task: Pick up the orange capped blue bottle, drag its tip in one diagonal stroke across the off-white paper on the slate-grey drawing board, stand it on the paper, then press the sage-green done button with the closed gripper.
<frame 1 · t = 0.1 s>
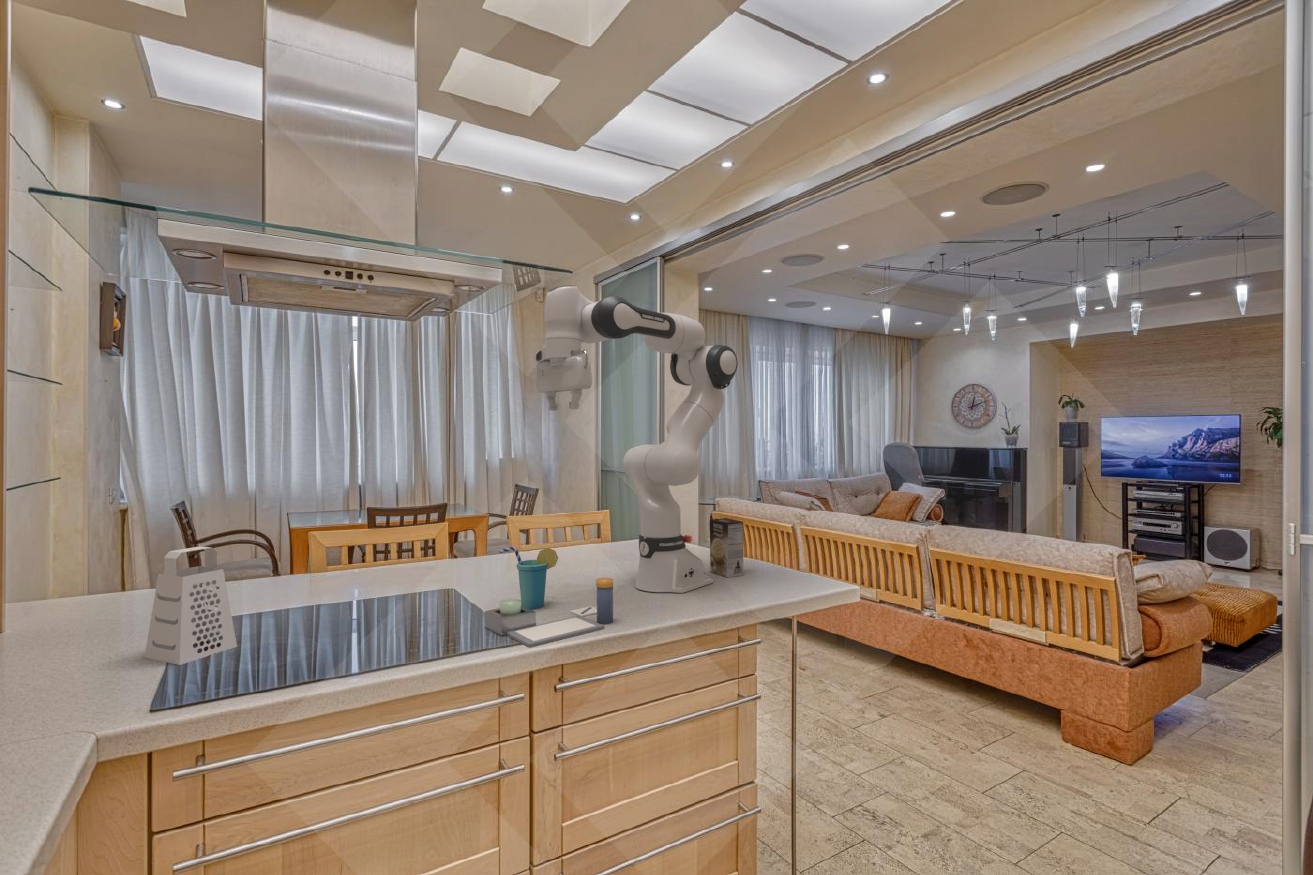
hand: (563, 410, 150), 48 cm above the countertop, fingers open, 8 cm apart
cup: (529, 607, 150), on the countertop
grater: (191, 653, 120), on the countertop
done button: (510, 611, 134), point 4 cm above the countertop, slide at 0.0 cm
orange capped blue bottle: (604, 621, 138), on the countertop
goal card: (586, 612, 146), on the countertop
coffee box: (726, 574, 185), on the countertop
drawing board: (555, 631, 131), on the countertop
button housing: (510, 627, 134), on the countertop
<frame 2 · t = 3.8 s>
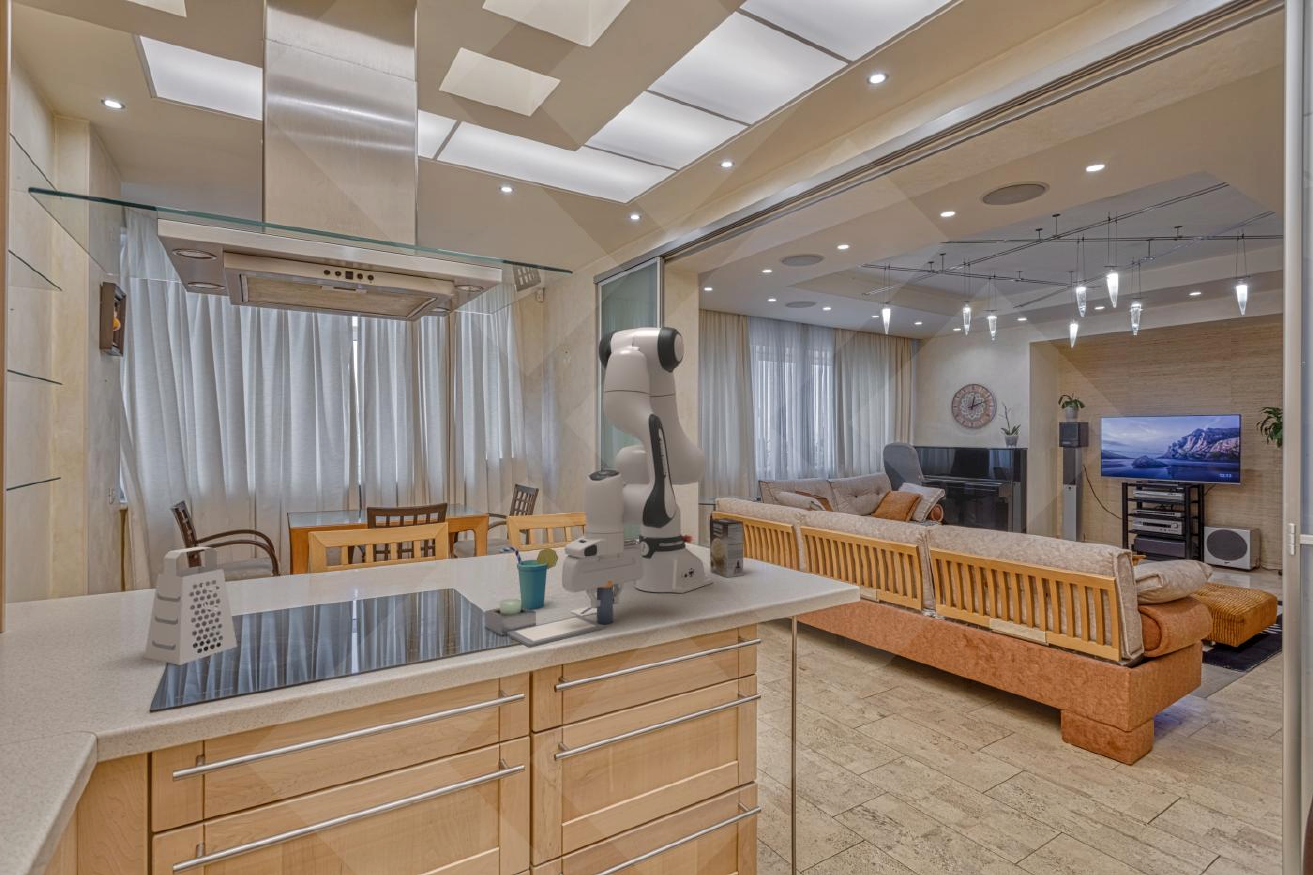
hand: (604, 605, 138), 4 cm above the countertop, fingers closed on orange capped blue bottle, 4 cm apart
orange capped blue bottle: (604, 621, 138), on the countertop, touching gripper
everything else where it was.
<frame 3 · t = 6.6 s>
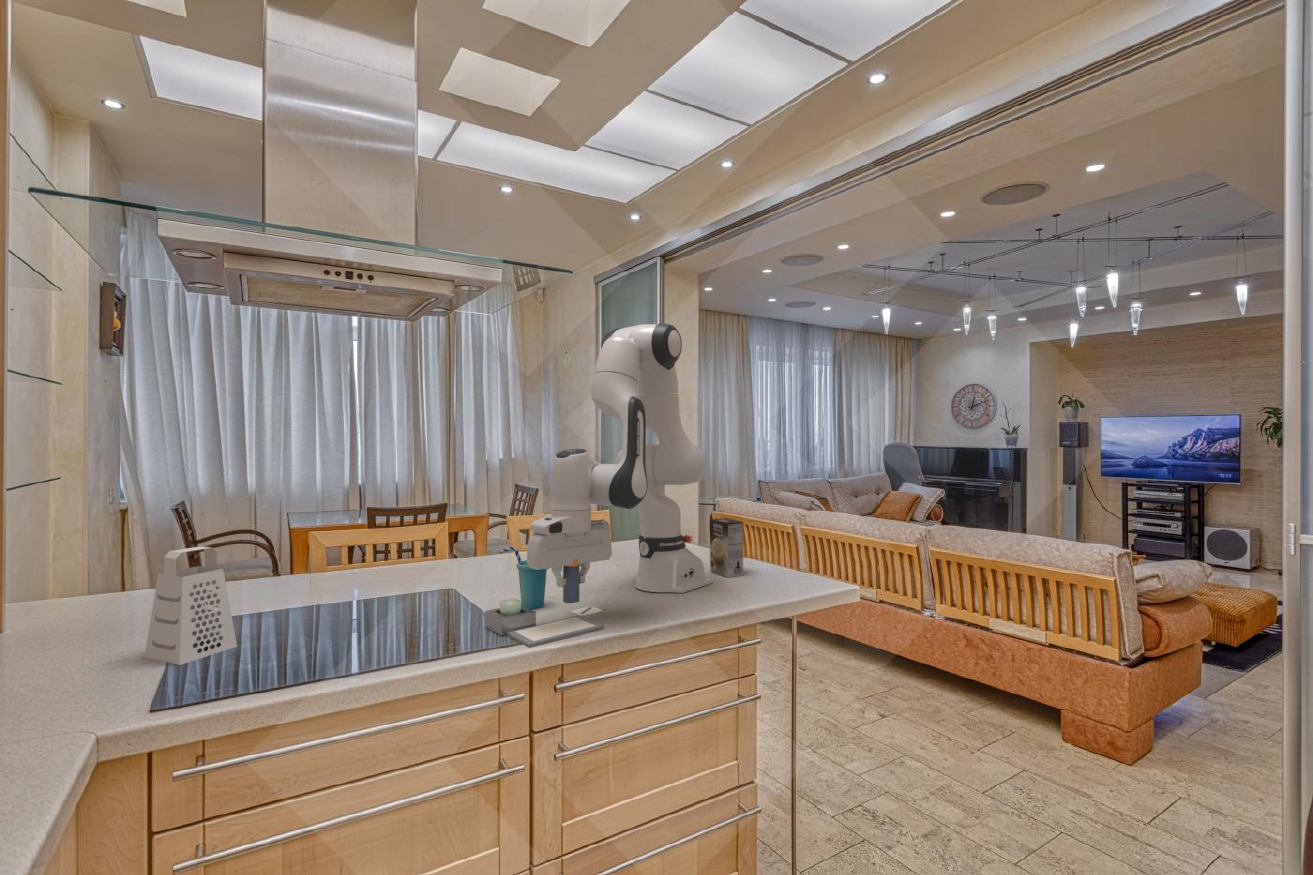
hand: (571, 584, 137), 9 cm above the countertop, fingers closed on orange capped blue bottle, 4 cm apart
orange capped blue bottle: (571, 601, 137), point 5 cm above the countertop, touching gripper
everything else where it was.
when the fingers open (5 cm above the countertop, at t = 9.6 s): orange capped blue bottle stays where it is, resting on drawing board.
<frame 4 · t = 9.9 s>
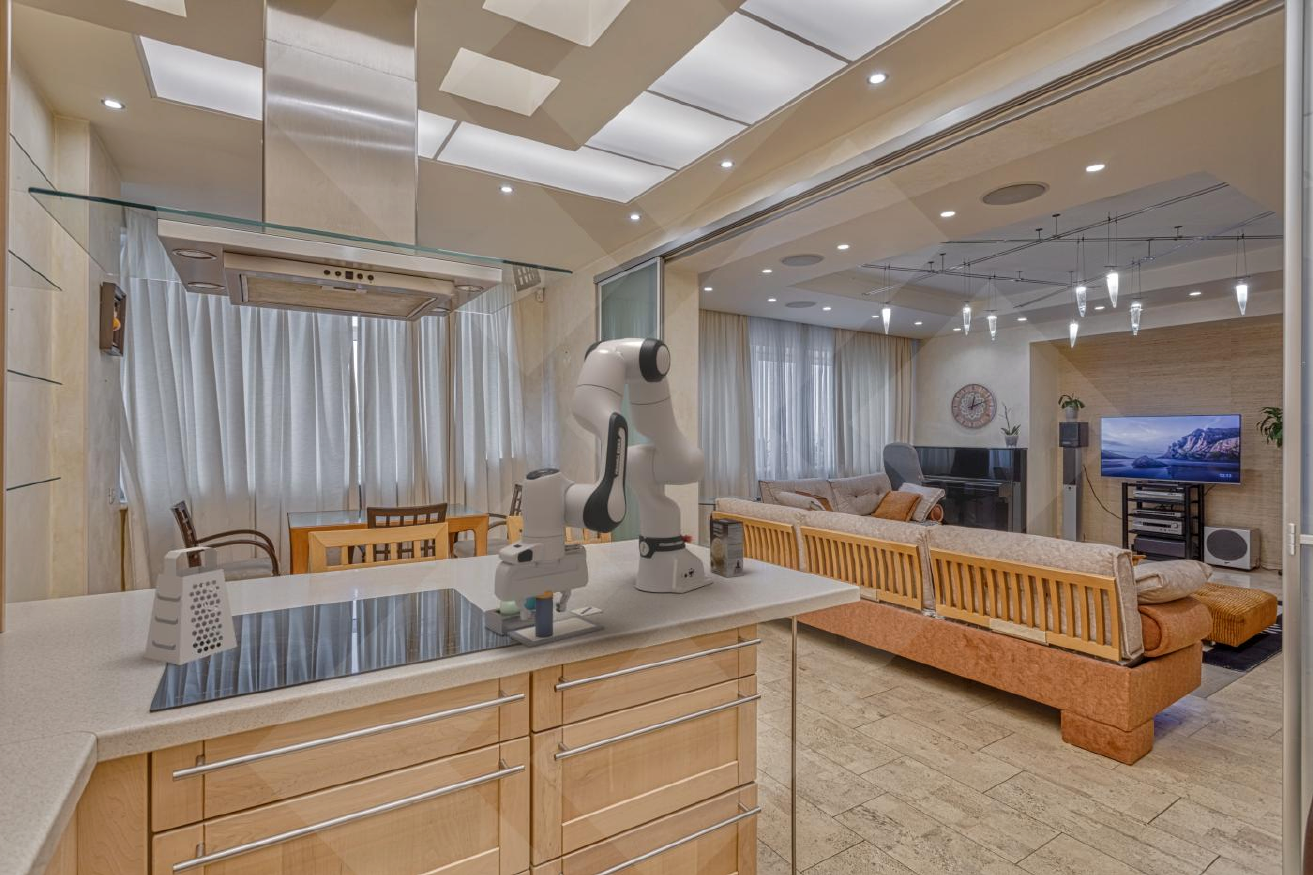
hand: (543, 615, 127), 5 cm above the countertop, fingers open, 7 cm apart
orange capped blue bottle: (544, 634, 127), point 1 cm above the countertop, touching drawing board
everything else where it was.
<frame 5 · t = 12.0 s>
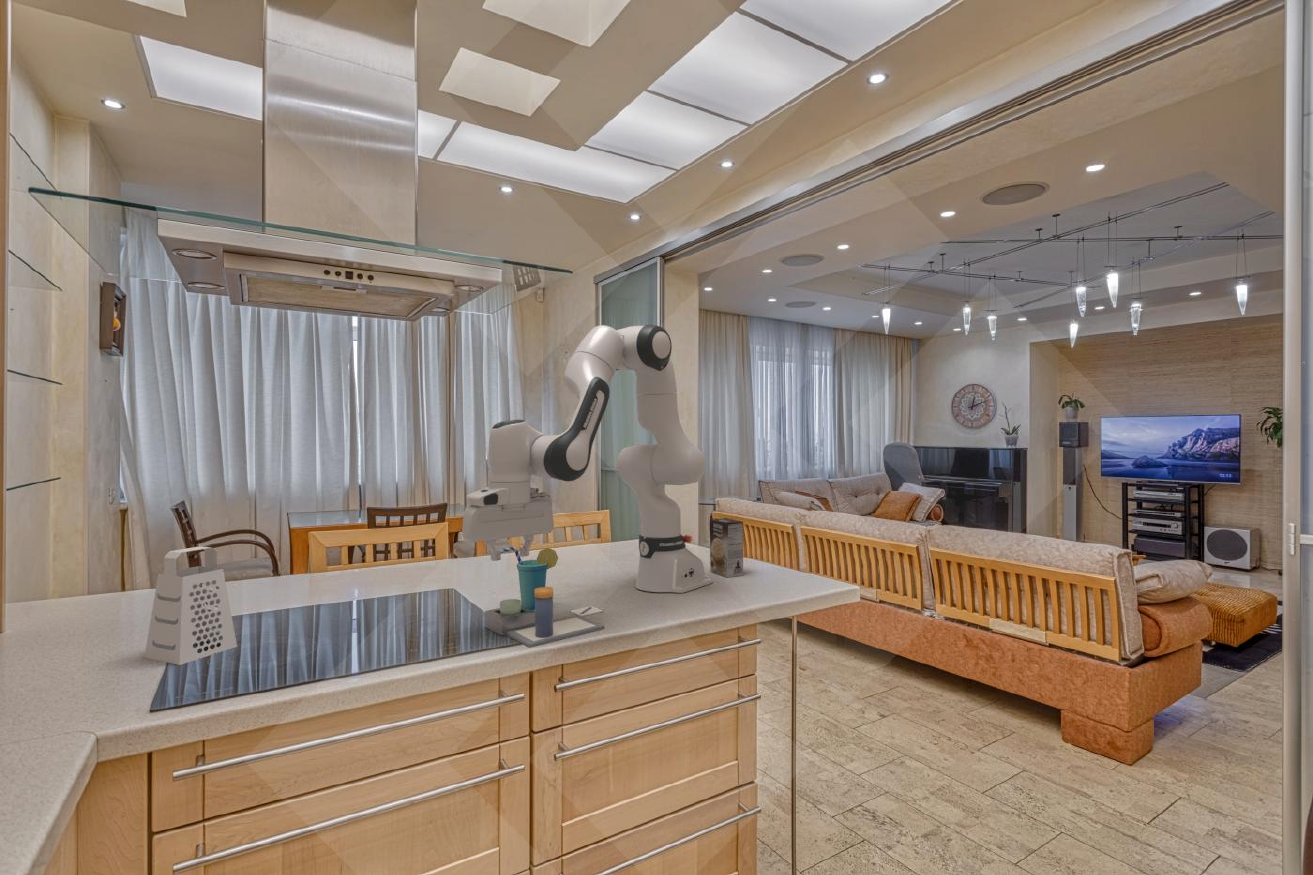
hand: (510, 558, 134), 15 cm above the countertop, fingers open, 5 cm apart
nothing on the countertop moved.
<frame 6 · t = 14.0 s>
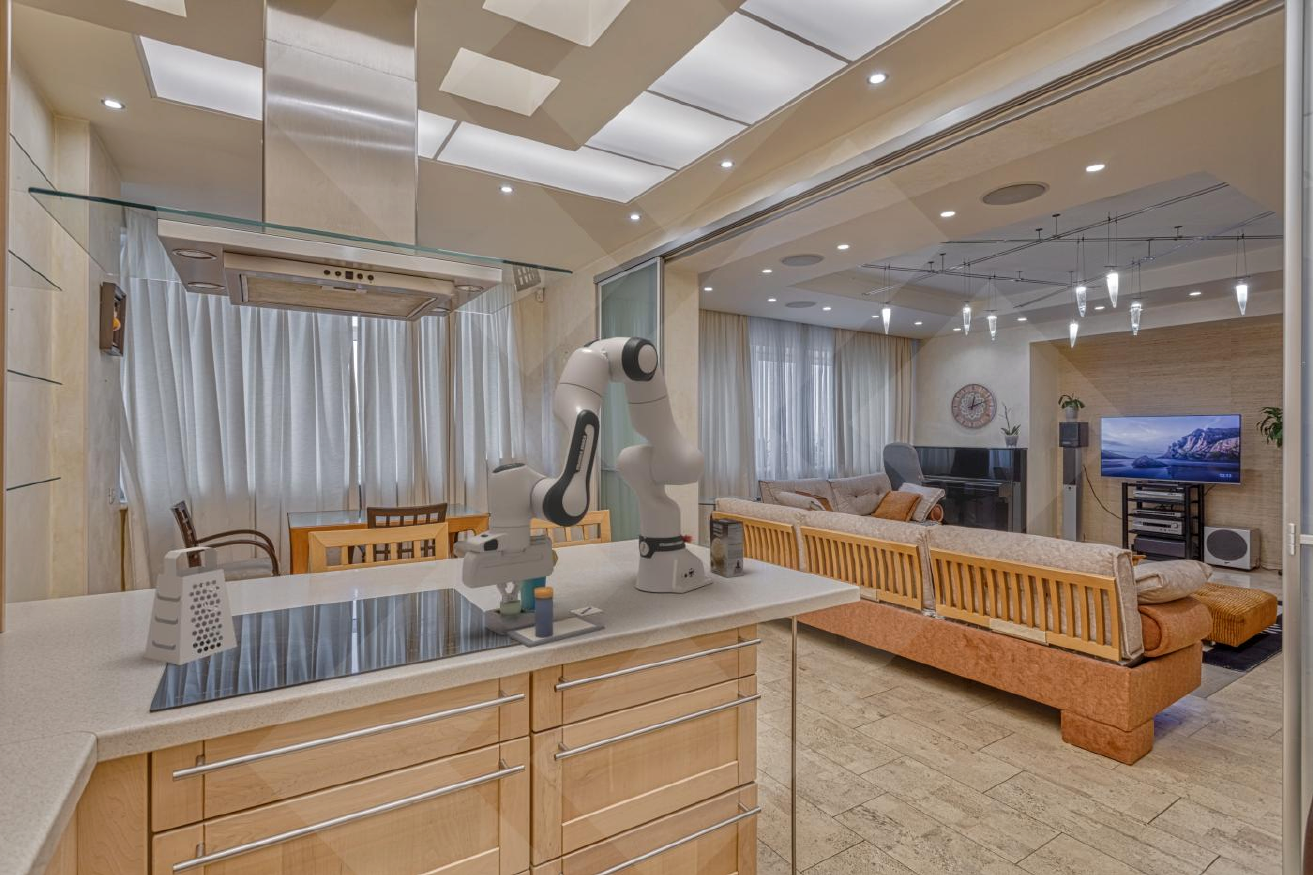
hand: (509, 602, 134), 6 cm above the countertop, fingers closed, pressing on done button
done button: (510, 611, 134), point 4 cm above the countertop, slide at 0.0 cm, touching gripper
everything else where it was.
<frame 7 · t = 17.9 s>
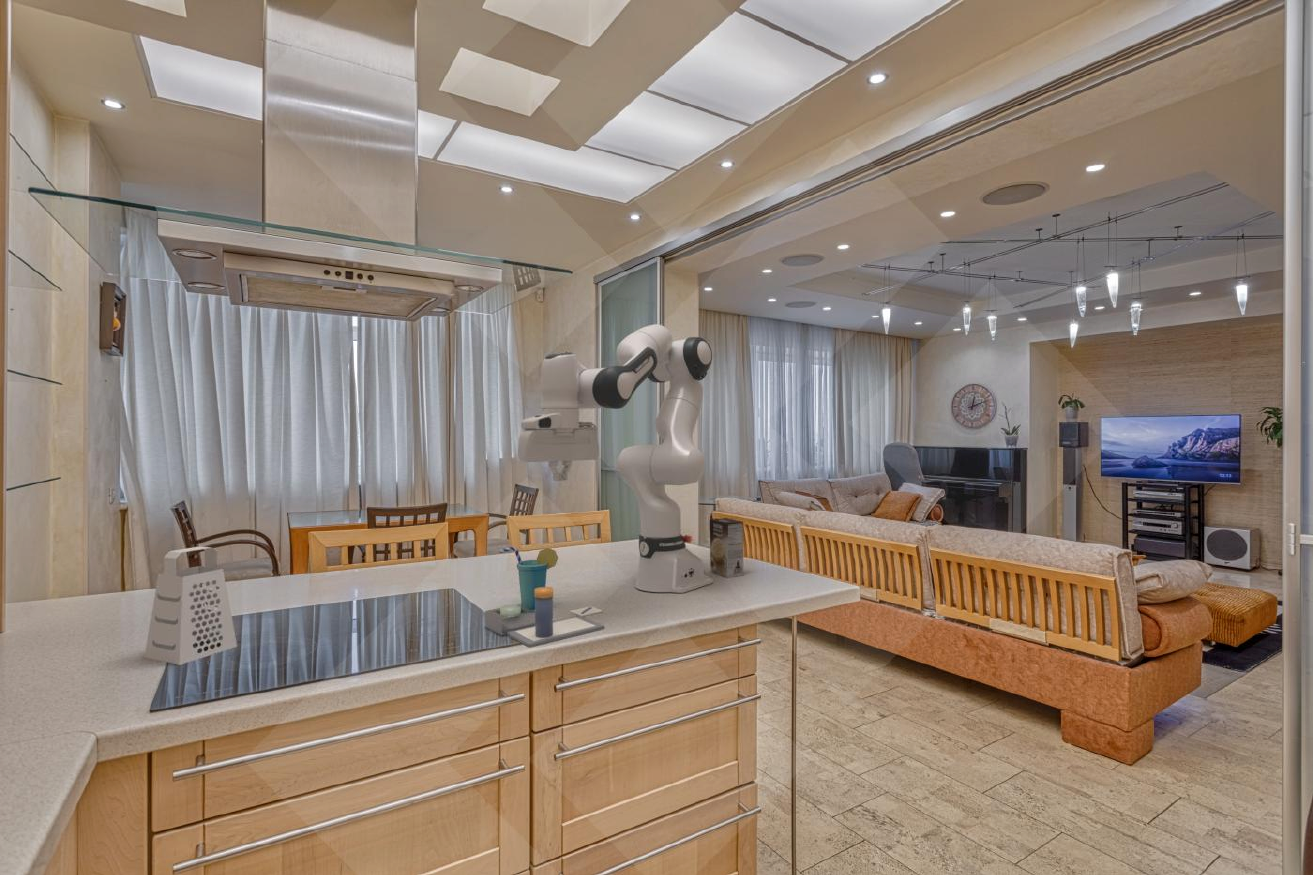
hand: (560, 480, 145), 31 cm above the countertop, fingers closed
done button: (510, 616, 134), point 2 cm above the countertop, slide at 1.3 cm
everything else where it was.
at the end: orange capped blue bottle inside the target area (4.5 cm from its centre), point 0.7 cm above the countertop; orange capped blue bottle tilted 0°; done button slide at 1.3 cm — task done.
